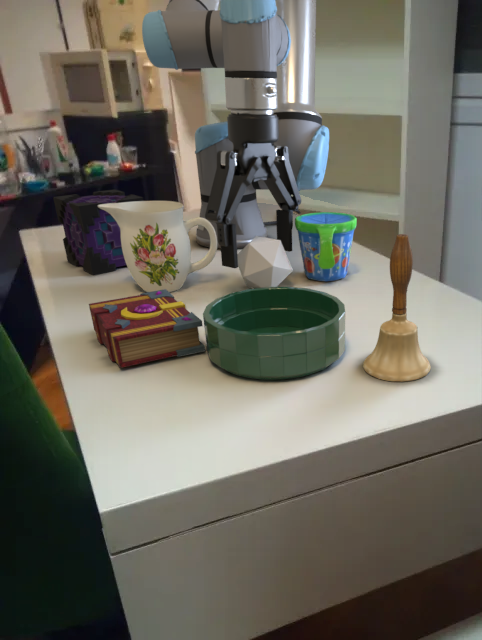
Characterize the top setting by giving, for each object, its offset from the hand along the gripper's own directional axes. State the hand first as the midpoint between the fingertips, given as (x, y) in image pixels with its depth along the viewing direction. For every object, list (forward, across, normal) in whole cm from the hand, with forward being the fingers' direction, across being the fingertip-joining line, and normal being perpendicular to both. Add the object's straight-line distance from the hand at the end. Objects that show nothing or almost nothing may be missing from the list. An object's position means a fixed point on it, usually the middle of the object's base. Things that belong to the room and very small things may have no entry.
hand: (258, 258), depth 97 cm
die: (+5, +1, 0) cm, 5 cm away
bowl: (+6, -19, -19) cm, 27 cm away
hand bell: (+6, -14, -34) cm, 37 cm away
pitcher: (+6, -8, +14) cm, 17 cm away
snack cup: (+5, +12, -5) cm, 14 cm away
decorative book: (+6, -26, -2) cm, 27 cm away
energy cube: (+5, -4, +35) cm, 36 cm away
